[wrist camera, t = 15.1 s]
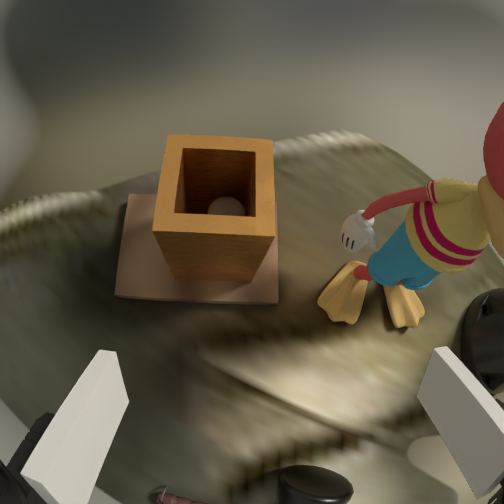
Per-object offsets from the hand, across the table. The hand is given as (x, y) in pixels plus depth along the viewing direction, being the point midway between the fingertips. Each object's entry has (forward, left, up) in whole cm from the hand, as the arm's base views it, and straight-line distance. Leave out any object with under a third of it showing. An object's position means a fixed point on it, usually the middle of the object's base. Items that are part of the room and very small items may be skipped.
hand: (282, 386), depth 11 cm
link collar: (+3, -12, -17) cm, 21 cm away
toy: (-15, -9, -19) cm, 26 cm away
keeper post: (+5, -12, -19) cm, 22 cm away
